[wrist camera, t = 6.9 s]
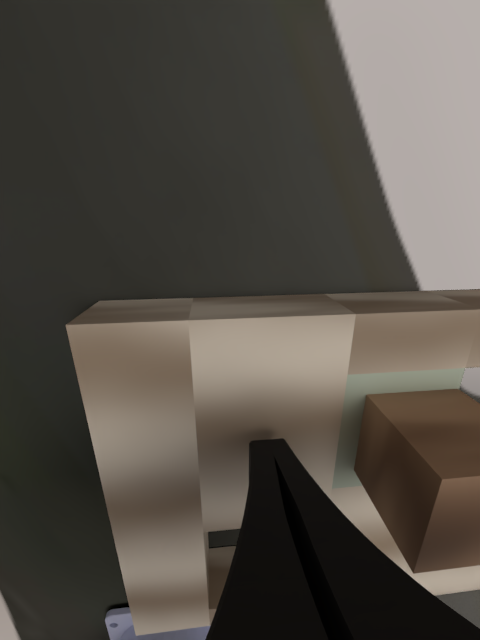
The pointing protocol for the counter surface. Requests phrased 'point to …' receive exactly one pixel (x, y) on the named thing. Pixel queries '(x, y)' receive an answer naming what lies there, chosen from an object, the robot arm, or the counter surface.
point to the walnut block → (424, 474)
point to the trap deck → (247, 419)
